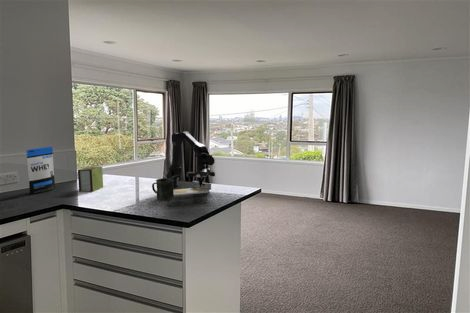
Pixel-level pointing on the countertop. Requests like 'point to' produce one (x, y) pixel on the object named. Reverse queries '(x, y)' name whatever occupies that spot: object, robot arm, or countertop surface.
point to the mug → (164, 189)
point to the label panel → (189, 191)
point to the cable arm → (204, 185)
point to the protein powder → (40, 170)
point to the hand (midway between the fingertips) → (200, 186)
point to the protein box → (90, 179)
